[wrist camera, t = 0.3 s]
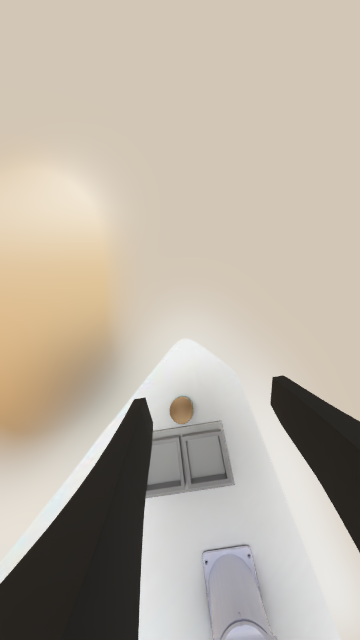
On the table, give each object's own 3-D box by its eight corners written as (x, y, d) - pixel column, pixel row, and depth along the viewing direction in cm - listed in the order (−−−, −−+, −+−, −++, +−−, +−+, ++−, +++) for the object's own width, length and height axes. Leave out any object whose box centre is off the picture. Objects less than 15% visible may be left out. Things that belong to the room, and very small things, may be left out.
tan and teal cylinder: (194, 417, 35) (195, 422, 31) (173, 421, 35) (171, 425, 31) (191, 394, 37) (191, 395, 32) (171, 397, 37) (168, 399, 32)
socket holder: (233, 482, 31) (237, 491, 28) (143, 496, 31) (138, 506, 28) (220, 420, 35) (223, 423, 32) (140, 433, 35) (136, 436, 32)
